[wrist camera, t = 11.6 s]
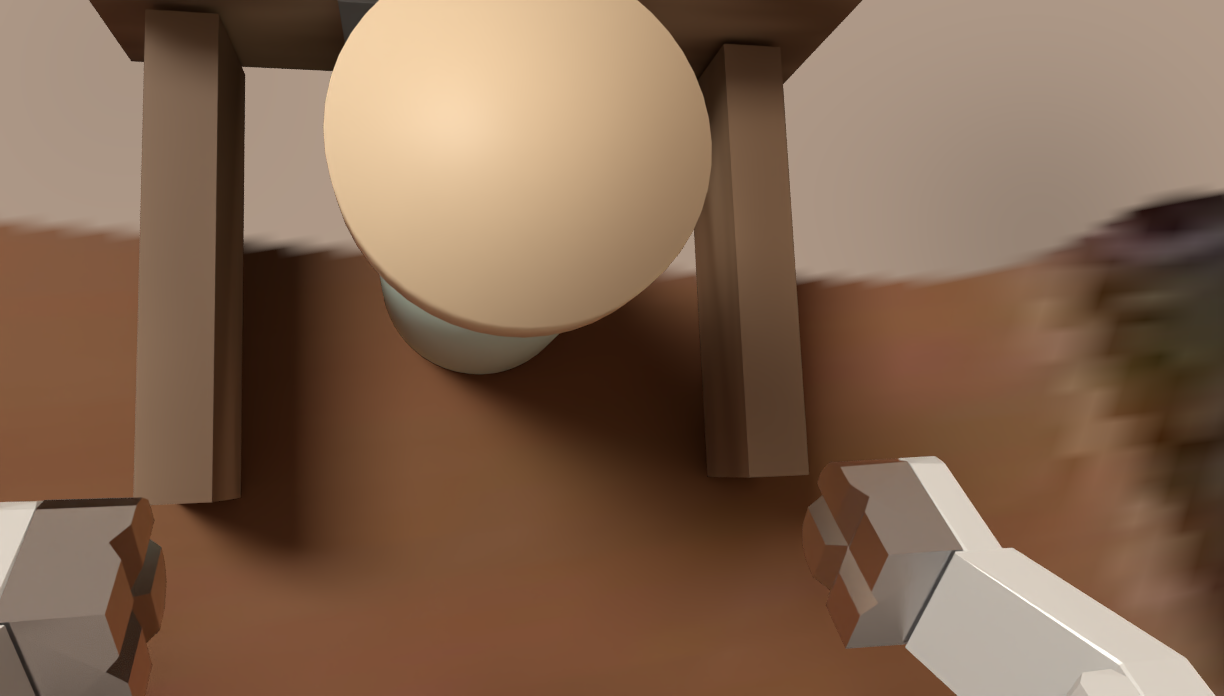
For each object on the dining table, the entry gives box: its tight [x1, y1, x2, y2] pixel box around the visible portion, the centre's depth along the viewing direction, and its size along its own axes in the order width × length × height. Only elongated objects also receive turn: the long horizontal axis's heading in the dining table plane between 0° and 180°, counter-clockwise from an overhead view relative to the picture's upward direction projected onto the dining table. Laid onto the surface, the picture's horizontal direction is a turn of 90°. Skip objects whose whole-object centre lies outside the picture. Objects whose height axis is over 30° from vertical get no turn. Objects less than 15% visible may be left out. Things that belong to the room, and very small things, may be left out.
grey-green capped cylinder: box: [323, 0, 712, 374], centre depth 18 cm, size 5×5×10 cm
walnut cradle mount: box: [90, 0, 862, 505], centre depth 20 cm, size 16×12×6 cm
